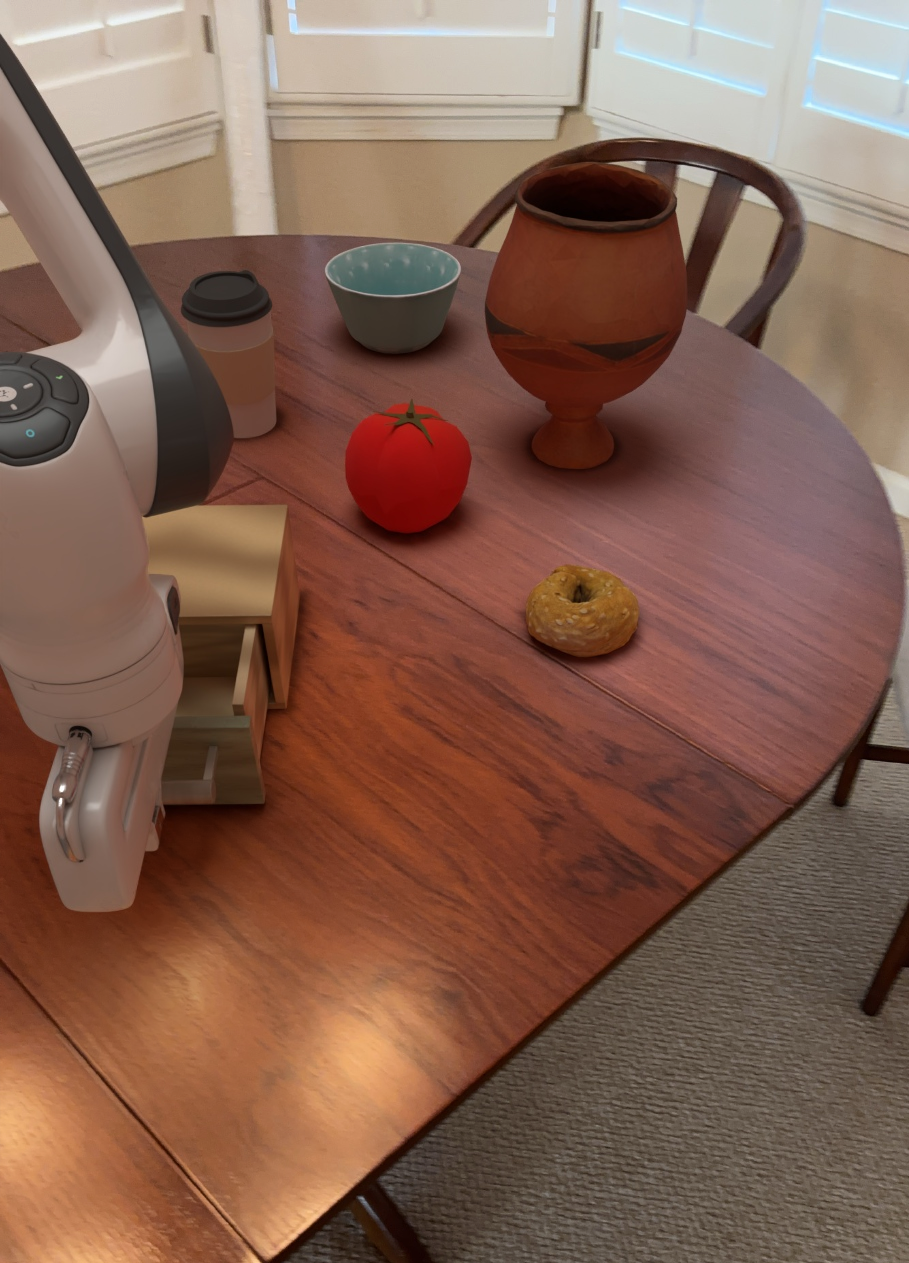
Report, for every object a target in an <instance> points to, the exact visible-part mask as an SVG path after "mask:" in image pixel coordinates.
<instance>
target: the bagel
mask: <svg viewBox="0 0 909 1263" xmlns="http://www.w3.org/2000/svg"><path fill="white" fill-rule="evenodd" d="M639 617H640V607H639V601H638V597H637V596H636V594H634V592H633V591H631V589H630V588H629V587H628V586H626V585H625V584H624V582H623V581H622V579H621V578H619V577H618V576H616V575H615V574H613V573H611V572H609V571H606V570H600V569H597V568H591V567H587V566H582V565H578V564H577V565H575V564H564V565H560V566H558V567H556V568H554V570H551V574H550V575H549V576H547V577H545V578H544V579H542V580H541V581H540V582H539V583H537V584H536V585H535V586H534V587H533V588H532V590H530V592H529V595H528V597H527V599H526V604H525V622H526V626H527V630H528V633H529V635H530V636H531V637H533V638H535V639H536V640H537V641H538V642H540V643H542V644H545V645H546V646H548V647H550V648H554V649H555V650H557V651H559V652H563V653H565V654H567V655H571V656H574V657H578V658H591V657H592V658H593V657H597V656H601V655H607V654H609V653H612V652H613V651H615V650H618V649H620V648H621V647H623V646H625V645H626V643H628V642H629V641H630V639H631V637H632V636H633V634H634V633H635V632H636V630H638V621H639Z"/></svg>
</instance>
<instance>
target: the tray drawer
mask: <svg viewBox="0 0 909 1263" xmlns="http://www.w3.org/2000/svg"><path fill="white" fill-rule="evenodd" d="M179 630H180V636H181V643H182V650H183V658H184V676H183V685H182V692H181V695H180V698H179V701H178V705H177V710H176V714H175V719H174V723H173V728H172V732H171V737H170V741H169V746H168V750H167V755H166V759H165V764H164V768H163V773H162V777H161V796H162V797H161V800H162V803H163V806H192V805H193V806H194V805H196V806H197V805H198V806H199V805H205V806H206V805H264V804H265V802H266V794H267V791H266V790H267V789H266V785H265V781H264V775H263V771H262V765H261V755H262V748H263V740H264V732H265V726H266V719H267V712H268V709H267V705H268V698H269V691H270V684H271V673H270V667H269V661H268V655H267V649H266V643H265V638H264V632H263V626H262V624H195V625H179Z"/></svg>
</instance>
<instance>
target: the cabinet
mask: <svg viewBox="0 0 909 1263" xmlns="http://www.w3.org/2000/svg"><path fill="white" fill-rule="evenodd" d="M289 512H290V510H289V505H288V504H225V505H224V504H221V505H220V504H219V505H218V504H216V505H212V504H210V505H208V504H207V505H197V506H193V507H189V508H184V509H180V510H176V511H172V512H168V513H164V514H159V515H155V516H151V517H147V518H145V517H143V516H142V519H143V522H144V526H145V530H146V534H147V538H148V543H149V564H148V574H164V575H173V576H175V578H176V580H177V583H178V587H179V591H180V596H181V605H180V614H179V620H178V624H179V625H195V624H262V626H263V632H264V638H265V643H266V649H267V655H268V661H269V667H270V673H271V684H270V691H269V698H268V705H267V710H276V709H277V710H281V709H282V710H286V709H287V706H288V699H289V690H290V682H291V675H292V674H291V673H292V666H293V657H294V650H295V643H296V642H295V641H296V633H297V625H298V617H299V607H300V602H301V592H300V586H299V578H298V571H297V563H296V556H295V548H294V541H293V540H294V539H293V535H292V534H293V532H292V526H291V517H290V513H289Z"/></svg>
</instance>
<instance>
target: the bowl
mask: <svg viewBox="0 0 909 1263" xmlns="http://www.w3.org/2000/svg"><path fill="white" fill-rule="evenodd" d="M461 273H462V266H461V264H460V262H459V260H458V259H457V257H455V256H454V255H452V254H451V253H449V252H447V251H445V250H442V249H440V248H437V247H433V246H430V245H425V244H420V243H411V242H380V243H373V244H371V243H370V244H366V245H363V246H357V247H354V248H350V249H348V250H345V251H343V252H341V253H339V254H336V255H335V256H334V257H332V258H331V259H330V260H328V262H327V263H326V264H325V267H324V276H325V278H326V281H327V282H328V286H329V288H330V291H331V293H332V296H333V298H334V301H335V303H336V306H337V308H338V310H339V313H340V314H341V317H342V319H343V321H344V323H345V326H346V328H347V330H348V333H349V334H350V336H351V337H352V338H353V339H354V340H355V341H357V342H358V343H359V344H360V345H362V346H363V347H364V348H366V349H368V350H370V351H373V352H377V353H381V354H389V355H391V354H392V355H393V354H394V355H397V354H398V355H400V354H408V353H413V352H417V351H420V350H422V349H425V348H426V347H427V346H429V345H430V344H431V343H432V342H433V341H434V340H435V339H437V338H438V337H439V336H440V334H441V333H442V332H443V329H444V326H445V323H446V320H447V317H448V314H449V310H450V308H451V305H452V303H453V300H454V296H455V294H456V289H457V287H458V283H459V280H460V277H461Z"/></svg>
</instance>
